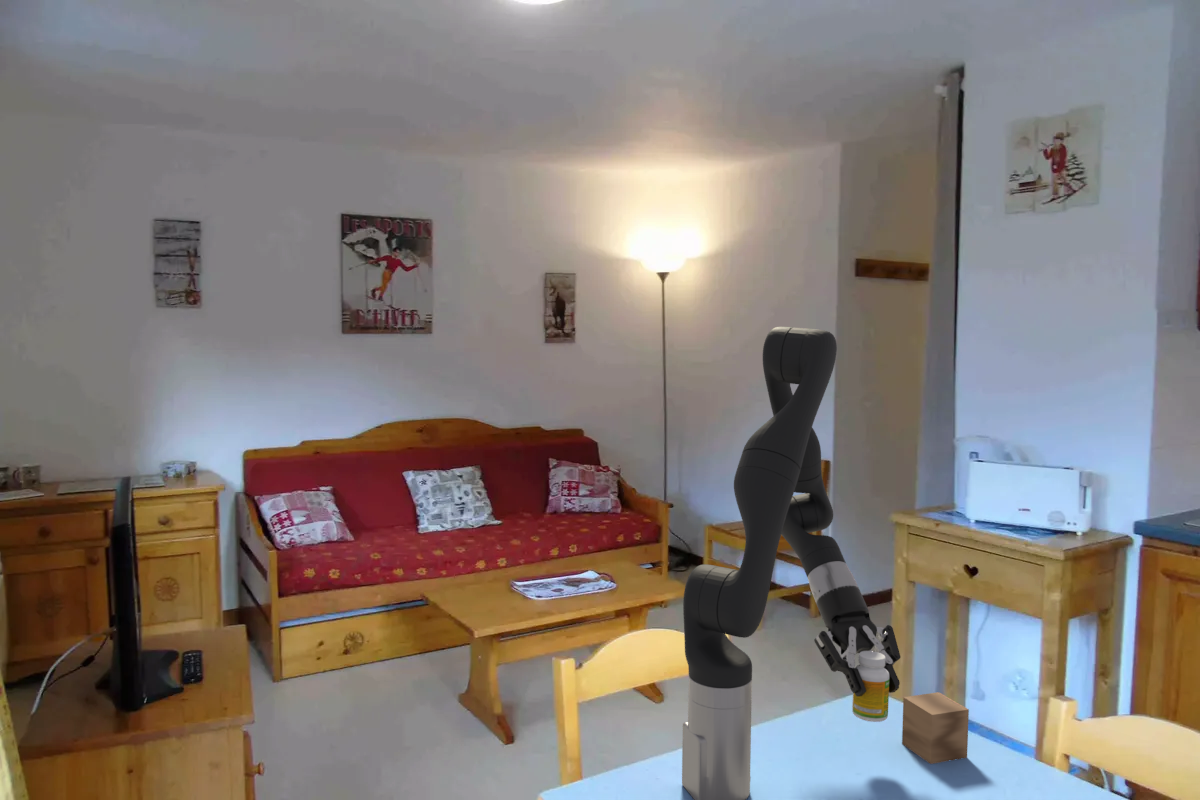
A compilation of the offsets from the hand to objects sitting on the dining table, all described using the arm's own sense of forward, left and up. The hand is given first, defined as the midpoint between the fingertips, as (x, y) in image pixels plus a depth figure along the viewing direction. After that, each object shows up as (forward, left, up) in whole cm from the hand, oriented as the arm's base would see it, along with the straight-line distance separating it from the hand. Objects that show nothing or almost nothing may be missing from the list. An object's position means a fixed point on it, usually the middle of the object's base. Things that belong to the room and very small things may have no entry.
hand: (878, 692), depth 131 cm
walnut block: (+12, +2, -12) cm, 17 cm away
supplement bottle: (0, +2, -5) cm, 5 cm away
